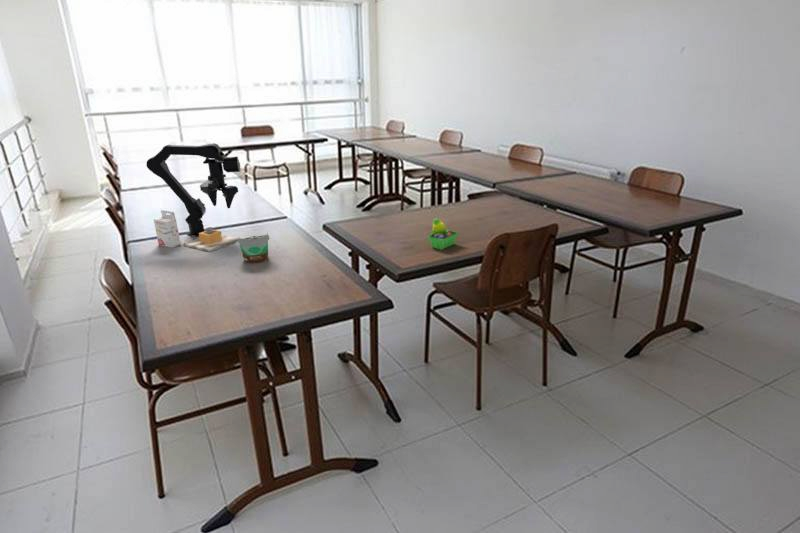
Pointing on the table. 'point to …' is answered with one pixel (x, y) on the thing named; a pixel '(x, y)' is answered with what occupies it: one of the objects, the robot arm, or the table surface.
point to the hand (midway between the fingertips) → (221, 207)
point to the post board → (210, 247)
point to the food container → (254, 248)
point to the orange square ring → (210, 237)
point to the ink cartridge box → (167, 229)
